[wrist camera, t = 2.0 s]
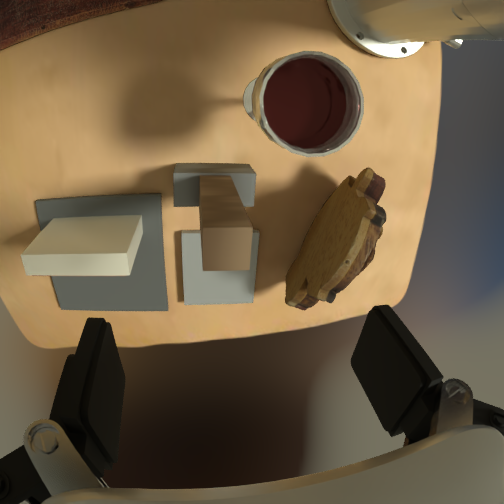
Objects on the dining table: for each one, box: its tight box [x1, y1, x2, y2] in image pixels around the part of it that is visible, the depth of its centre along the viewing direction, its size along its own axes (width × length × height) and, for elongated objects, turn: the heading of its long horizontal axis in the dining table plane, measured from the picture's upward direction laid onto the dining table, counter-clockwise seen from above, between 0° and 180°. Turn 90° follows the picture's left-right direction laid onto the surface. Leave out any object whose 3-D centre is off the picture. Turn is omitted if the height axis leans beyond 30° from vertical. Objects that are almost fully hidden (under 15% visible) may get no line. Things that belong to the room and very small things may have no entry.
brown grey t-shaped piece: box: [173, 163, 256, 271], centre depth 23 cm, size 7×3×15 cm, turn 86°
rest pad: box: [182, 230, 260, 305], centre depth 34 cm, size 8×9×1 cm
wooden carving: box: [285, 168, 386, 310], centre depth 30 cm, size 16×5×10 cm, turn 159°
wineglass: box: [243, 51, 364, 157], centre depth 22 cm, size 7×7×12 cm
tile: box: [21, 215, 143, 276], centre depth 26 cm, size 10×2×8 cm, turn 86°
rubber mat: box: [36, 193, 168, 311], centre depth 31 cm, size 14×14×1 cm
